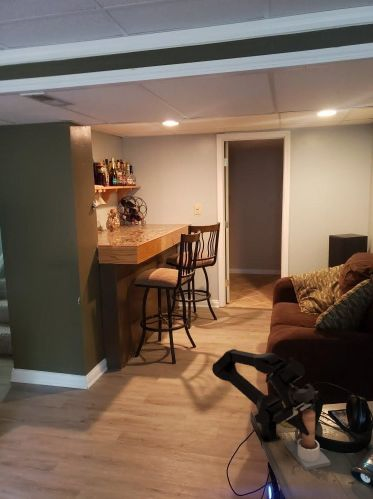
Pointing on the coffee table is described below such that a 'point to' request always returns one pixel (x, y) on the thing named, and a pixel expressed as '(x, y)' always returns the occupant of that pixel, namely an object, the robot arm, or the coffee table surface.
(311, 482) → the coffee table surface
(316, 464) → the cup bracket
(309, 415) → the post
